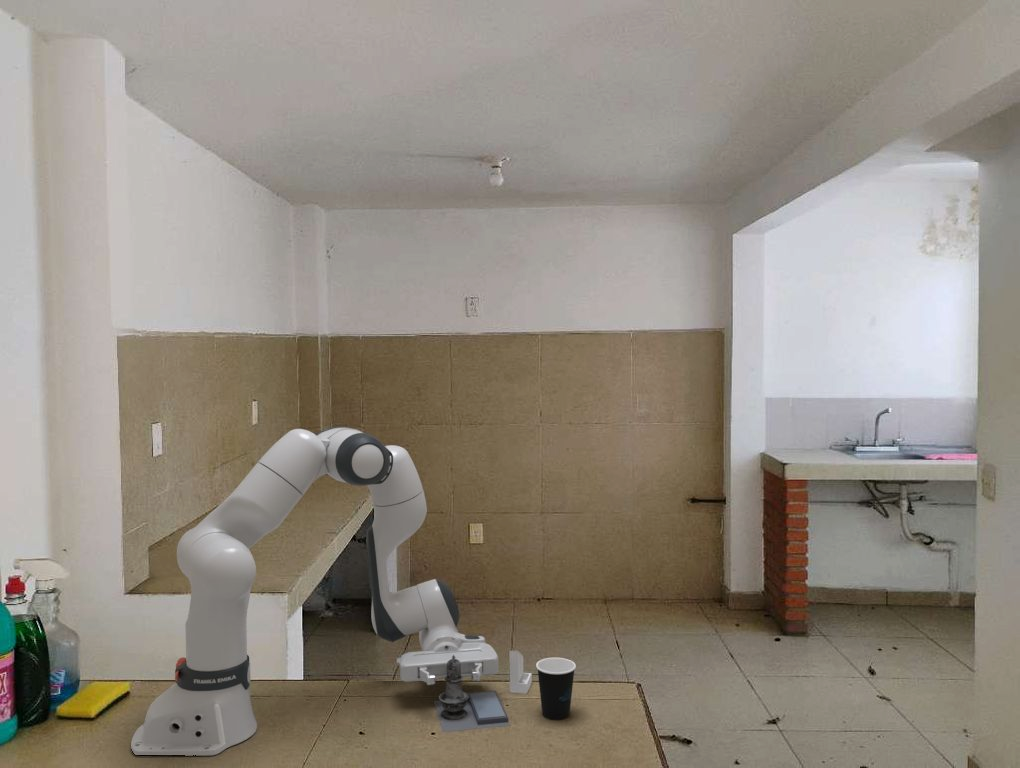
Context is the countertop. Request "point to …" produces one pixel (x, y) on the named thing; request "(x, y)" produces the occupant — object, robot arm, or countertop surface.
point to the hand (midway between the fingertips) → (453, 679)
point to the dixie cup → (555, 686)
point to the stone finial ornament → (453, 693)
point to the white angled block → (518, 674)
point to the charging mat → (463, 720)
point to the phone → (487, 707)
